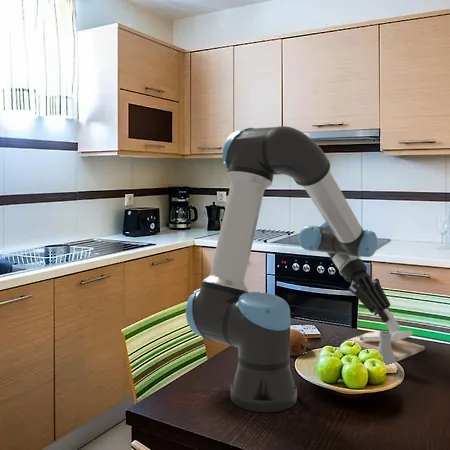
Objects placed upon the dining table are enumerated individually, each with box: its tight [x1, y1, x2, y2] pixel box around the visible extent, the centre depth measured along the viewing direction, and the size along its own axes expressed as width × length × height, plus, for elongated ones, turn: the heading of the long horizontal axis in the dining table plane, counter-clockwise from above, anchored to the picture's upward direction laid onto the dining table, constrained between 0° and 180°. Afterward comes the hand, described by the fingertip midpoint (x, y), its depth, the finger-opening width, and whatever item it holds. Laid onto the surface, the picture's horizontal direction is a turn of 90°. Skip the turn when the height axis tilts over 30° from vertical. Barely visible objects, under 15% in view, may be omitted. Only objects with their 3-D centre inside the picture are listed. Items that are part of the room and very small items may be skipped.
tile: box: [360, 330, 413, 341], centre depth 151 cm, size 8×1×12 cm
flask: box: [377, 330, 397, 365], centre depth 134 cm, size 7×7×10 cm
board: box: [343, 331, 426, 362], centre depth 152 cm, size 14×18×1 cm
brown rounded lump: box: [290, 328, 311, 357], centre depth 149 cm, size 10×10×8 cm
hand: (396, 330), depth 148 cm, fingers closed
